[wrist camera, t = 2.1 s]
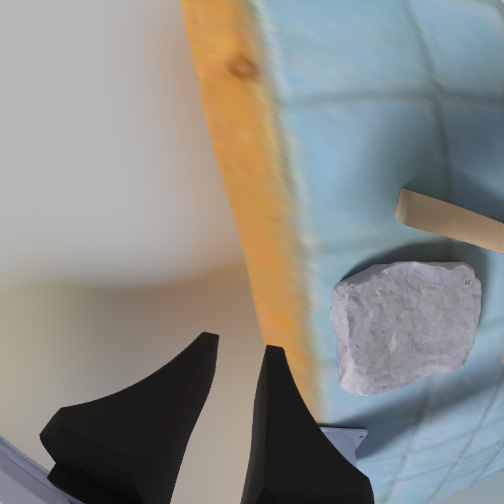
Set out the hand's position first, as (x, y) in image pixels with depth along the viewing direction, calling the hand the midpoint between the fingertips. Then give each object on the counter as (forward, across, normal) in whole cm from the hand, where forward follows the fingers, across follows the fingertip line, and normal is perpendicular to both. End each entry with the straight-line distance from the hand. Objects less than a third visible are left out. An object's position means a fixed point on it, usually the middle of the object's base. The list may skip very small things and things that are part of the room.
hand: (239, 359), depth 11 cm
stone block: (+10, -11, +1) cm, 15 cm away
